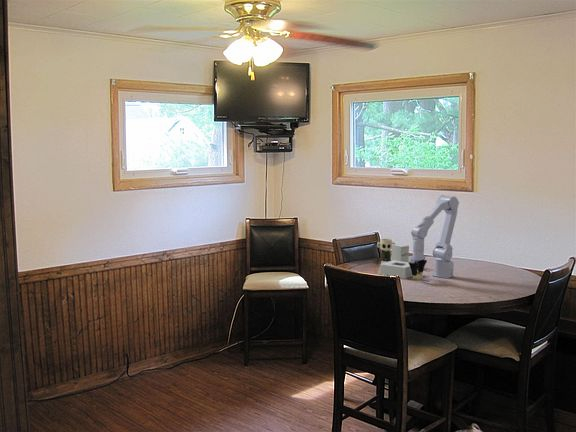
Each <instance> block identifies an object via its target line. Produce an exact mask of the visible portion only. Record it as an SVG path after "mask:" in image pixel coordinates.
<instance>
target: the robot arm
mask: <svg viewBox="0 0 576 432" xmlns="http://www.w3.org/2000/svg"><path fill="white" fill-rule="evenodd" d="M459 204H460V201H459V200H458V198H457V196H450V195H443V194H442V195H439V197H438V199H437V200H436V204H435V205H434V207H433V208H432V210H431V211H430V212H429V214H428V215H425V216H423V217H422V219H421V220H420V222H419V223H418V224H417V226H414V227H413V228H412V230H411V232H410V234H411V236H412V241H413V243H412V255H411V256H410V261H408V262H409V265H410V267H411V271H412V275H413V276H416V275H417V271H418V272H422V274H423V272H424V269H425V267H426V265H427V262H428V260H426V255H424V254H425V238H426V237H427V236H428V232H429V229H430V228H431V227H432V226H433V225H434V223H435V221H434V220H435V219H436V218H437V216H438V215H440V214H441V212H442V211H444V212H445V219H444V222H443V227H442V231H441V235H440V239H439V242H437V243H435V246H434V248H433V250H432V257H433V258H434V260H435V261H434V262H435V263H434V265H435V266H434V274H431V276H432V277H439V278H444V279H449V278H452V277H454V269H455V268H454V265H455V264H454V262H453V261H451V259H452V257H453V248H454V247H453V246H452V245H451V240H452V236H453V232H454V227H455V223H456V220H457V215H458V208H459ZM413 276H412V277H413Z"/></svg>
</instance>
